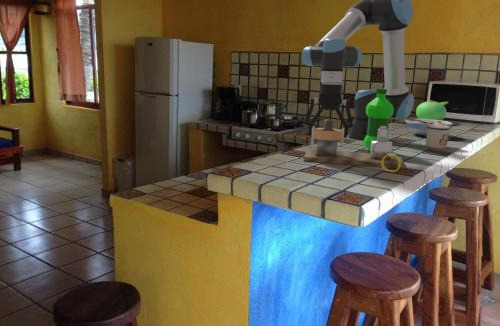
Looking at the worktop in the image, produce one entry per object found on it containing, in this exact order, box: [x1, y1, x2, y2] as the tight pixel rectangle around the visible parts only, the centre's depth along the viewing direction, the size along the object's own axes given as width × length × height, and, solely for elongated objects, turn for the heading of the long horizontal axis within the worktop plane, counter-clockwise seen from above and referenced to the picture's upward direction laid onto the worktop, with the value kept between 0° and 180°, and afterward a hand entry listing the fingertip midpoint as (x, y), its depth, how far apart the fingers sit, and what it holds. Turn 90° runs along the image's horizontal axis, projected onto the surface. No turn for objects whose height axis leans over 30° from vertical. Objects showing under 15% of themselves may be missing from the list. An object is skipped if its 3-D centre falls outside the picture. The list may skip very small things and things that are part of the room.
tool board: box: [303, 119, 405, 170], centre depth 156 cm, size 34×16×14 cm, turn 77°
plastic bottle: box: [363, 88, 394, 152], centre depth 174 cm, size 10×10×25 cm
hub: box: [369, 126, 393, 160], centre depth 154 cm, size 7×7×12 cm
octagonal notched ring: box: [313, 127, 342, 141], centre depth 158 cm, size 10×10×3 cm
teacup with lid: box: [425, 120, 451, 150], centre depth 191 cm, size 12×9×12 cm
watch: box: [381, 152, 401, 173], centre depth 142 cm, size 6×3×6 cm, turn 55°
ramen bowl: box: [404, 117, 453, 137], centre depth 224 cm, size 25×23×8 cm
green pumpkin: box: [415, 99, 449, 121], centre depth 279 cm, size 18×17×15 cm
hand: (327, 145), depth 159 cm, fingers closed on octagonal notched ring, 10 cm apart
